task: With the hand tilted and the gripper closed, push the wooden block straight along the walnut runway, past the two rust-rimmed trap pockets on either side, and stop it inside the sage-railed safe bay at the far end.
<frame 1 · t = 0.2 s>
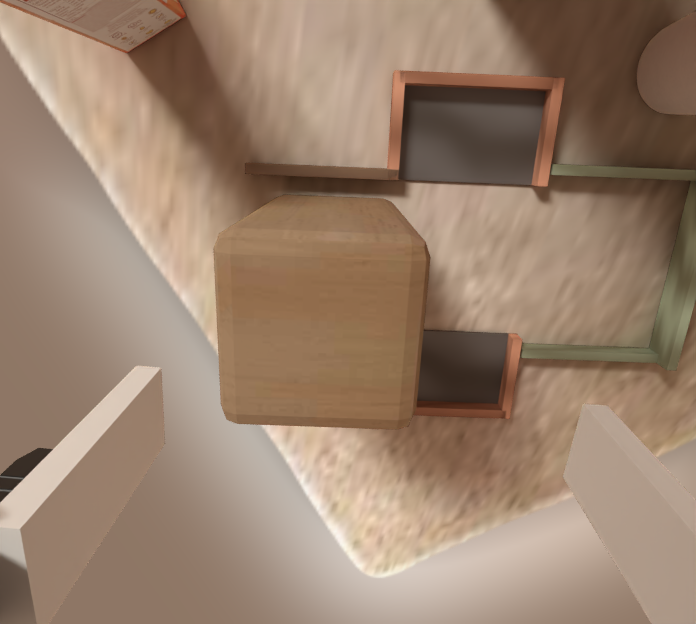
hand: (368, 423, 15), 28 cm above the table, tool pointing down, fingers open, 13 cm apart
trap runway: (460, 260, 42), on the table
coffee cup: (677, 69, 37), on the table
wooden block: (332, 254, 42), on the table
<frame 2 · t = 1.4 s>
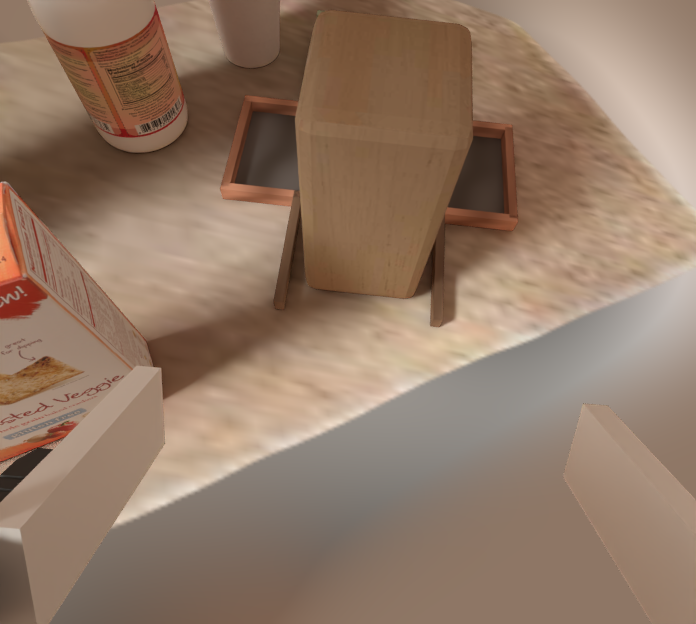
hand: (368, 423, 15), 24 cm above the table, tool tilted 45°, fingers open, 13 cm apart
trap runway: (373, 161, 51), on the table
fruit juice: (145, 123, 52), on the table
coffee cup: (252, 50, 57), on the table
wooden block: (363, 252, 46), on the table
cracker box: (72, 404, 39), on the table
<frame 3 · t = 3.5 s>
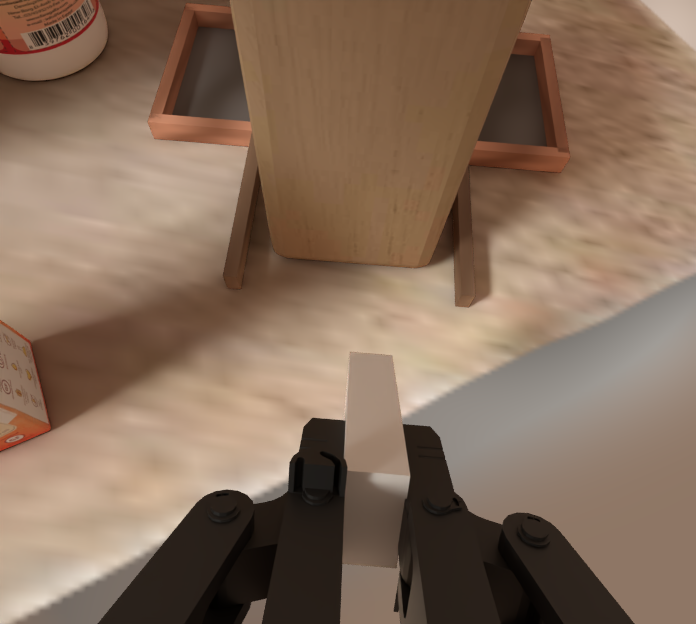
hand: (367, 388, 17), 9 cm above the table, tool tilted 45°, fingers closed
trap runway: (363, 87, 37), on the table
fruit juice: (50, 44, 38), on the table
wooden block: (355, 206, 33), on the table
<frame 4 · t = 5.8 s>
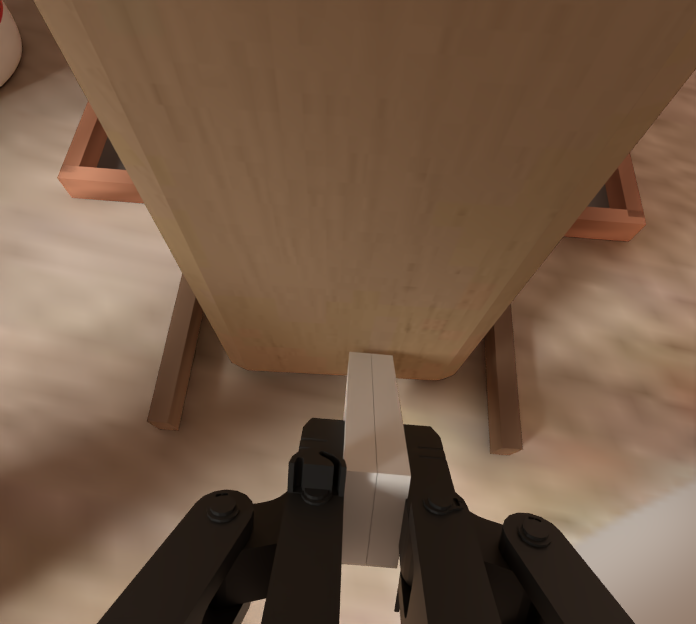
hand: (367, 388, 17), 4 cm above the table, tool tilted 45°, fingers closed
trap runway: (359, 121, 28), on the table
wooden block: (347, 283, 24), on the table, touching gripper
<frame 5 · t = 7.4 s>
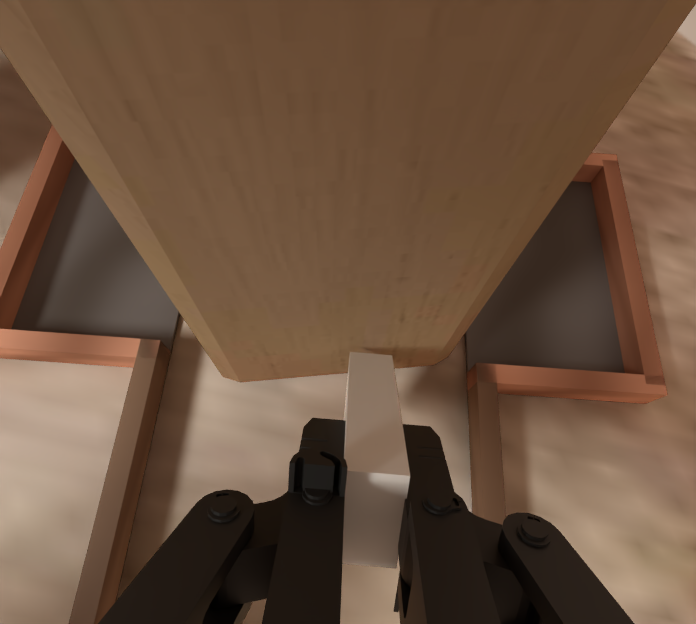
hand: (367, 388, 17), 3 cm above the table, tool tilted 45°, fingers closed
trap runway: (329, 246, 24), on the table
wooden block: (327, 280, 23), on the table, touching gripper
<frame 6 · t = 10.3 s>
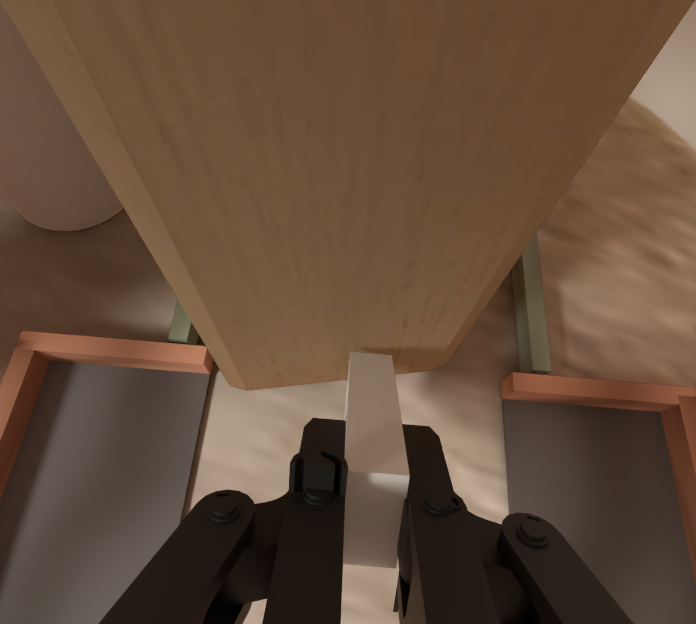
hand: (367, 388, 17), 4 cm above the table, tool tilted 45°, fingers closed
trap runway: (348, 508, 20), on the table
coffee cup: (79, 183, 26), on the table
wooden block: (328, 290, 24), on the table, touching gripper, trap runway
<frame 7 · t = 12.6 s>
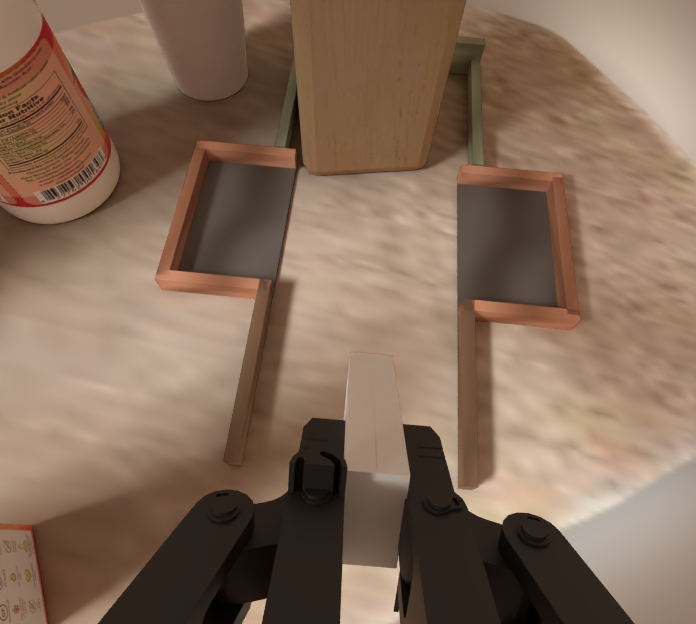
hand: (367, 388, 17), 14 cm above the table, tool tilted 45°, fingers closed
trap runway: (371, 229, 37), on the table
fruit juice: (63, 180, 38), on the table
coffee cup: (212, 77, 44), on the table
wooden block: (360, 133, 41), on the table
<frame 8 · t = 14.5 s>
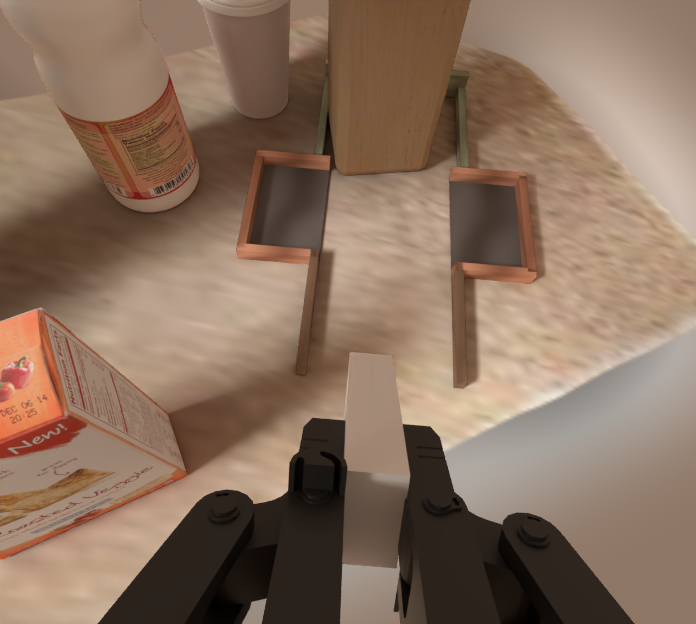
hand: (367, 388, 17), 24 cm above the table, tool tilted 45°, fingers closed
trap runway: (387, 214, 50), on the table
fruit juice: (156, 180, 51), on the table
coffee cup: (260, 100, 57), on the table
wooden block: (375, 143, 55), on the table
cracker box: (95, 483, 38), on the table
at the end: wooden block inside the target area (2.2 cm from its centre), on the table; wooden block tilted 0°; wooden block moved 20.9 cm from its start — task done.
